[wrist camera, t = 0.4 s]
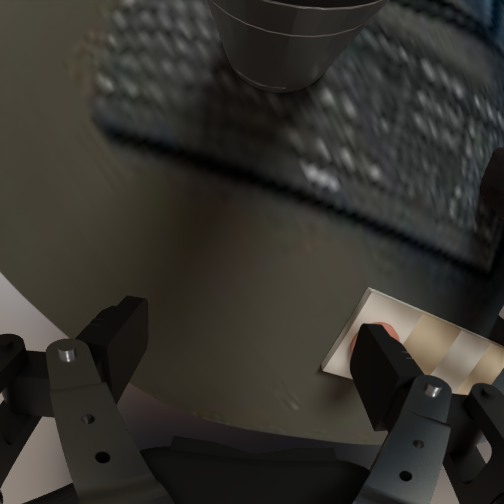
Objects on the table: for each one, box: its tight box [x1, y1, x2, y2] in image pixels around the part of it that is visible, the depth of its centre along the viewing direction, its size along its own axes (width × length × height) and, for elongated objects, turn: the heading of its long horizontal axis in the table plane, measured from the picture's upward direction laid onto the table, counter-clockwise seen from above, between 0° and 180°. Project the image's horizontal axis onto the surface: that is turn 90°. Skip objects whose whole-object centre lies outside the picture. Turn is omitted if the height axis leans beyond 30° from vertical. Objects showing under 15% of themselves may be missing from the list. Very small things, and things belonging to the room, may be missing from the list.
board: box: [321, 287, 504, 395], centre depth 32 cm, size 10×28×1 cm, turn 67°
